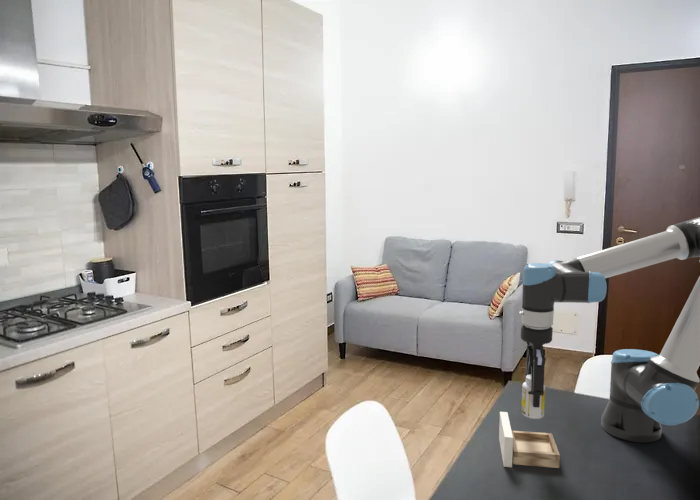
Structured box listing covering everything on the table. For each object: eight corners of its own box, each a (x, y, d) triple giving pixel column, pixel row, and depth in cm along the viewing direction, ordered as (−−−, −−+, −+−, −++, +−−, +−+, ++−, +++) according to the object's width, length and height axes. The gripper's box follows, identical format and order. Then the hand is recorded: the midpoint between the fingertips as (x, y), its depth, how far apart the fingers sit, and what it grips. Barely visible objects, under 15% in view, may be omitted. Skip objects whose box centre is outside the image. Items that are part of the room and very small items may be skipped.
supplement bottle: (548, 416, 137) (550, 378, 136) (534, 421, 134) (536, 383, 133) (530, 407, 142) (532, 371, 140) (516, 413, 139) (518, 376, 137)
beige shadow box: (551, 445, 144) (551, 433, 144) (559, 468, 133) (559, 455, 133) (508, 442, 146) (509, 430, 146) (513, 464, 135) (513, 451, 135)
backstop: (506, 439, 148) (507, 412, 146) (512, 467, 134) (513, 437, 133) (499, 438, 148) (499, 411, 147) (503, 466, 134) (504, 436, 133)
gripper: (516, 314, 144) (513, 395, 148) (526, 335, 126) (522, 428, 130) (546, 315, 143) (542, 397, 146) (559, 337, 125) (555, 430, 128)
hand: (532, 411), depth 138 cm, fingers closed on supplement bottle, 6 cm apart
